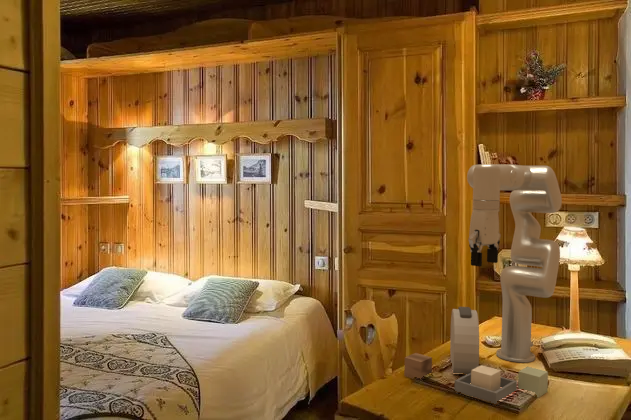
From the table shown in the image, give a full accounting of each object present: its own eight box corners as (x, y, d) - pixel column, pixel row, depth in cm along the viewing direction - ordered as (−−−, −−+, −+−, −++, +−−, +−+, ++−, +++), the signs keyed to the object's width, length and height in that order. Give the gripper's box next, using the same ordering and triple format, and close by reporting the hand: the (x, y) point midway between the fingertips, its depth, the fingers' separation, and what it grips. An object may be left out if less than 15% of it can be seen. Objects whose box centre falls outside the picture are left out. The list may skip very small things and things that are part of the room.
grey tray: (476, 381, 161) (476, 369, 161) (516, 393, 152) (516, 381, 152) (454, 392, 152) (454, 380, 152) (495, 405, 143) (496, 393, 143)
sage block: (526, 386, 158) (527, 366, 157) (547, 392, 153) (548, 371, 153) (517, 391, 154) (518, 371, 153) (538, 397, 149) (539, 376, 149)
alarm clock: (478, 380, 161) (480, 316, 160) (453, 378, 163) (454, 315, 162) (472, 358, 182) (473, 301, 181) (450, 356, 184) (451, 300, 183)
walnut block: (415, 371, 169) (415, 352, 169) (431, 376, 165) (432, 357, 165) (404, 376, 165) (404, 357, 165) (420, 381, 161) (421, 362, 160)
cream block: (480, 385, 156) (481, 365, 156) (500, 390, 152) (500, 370, 152) (470, 390, 152) (471, 370, 152) (490, 396, 148) (490, 375, 148)
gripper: (488, 205, 164) (486, 259, 165) (459, 206, 152) (457, 265, 153) (511, 206, 159) (509, 262, 160) (483, 207, 147) (481, 269, 148)
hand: (484, 264), depth 156 cm, fingers open, 9 cm apart
